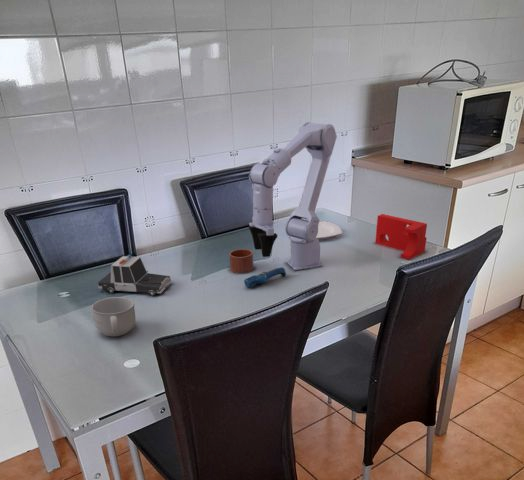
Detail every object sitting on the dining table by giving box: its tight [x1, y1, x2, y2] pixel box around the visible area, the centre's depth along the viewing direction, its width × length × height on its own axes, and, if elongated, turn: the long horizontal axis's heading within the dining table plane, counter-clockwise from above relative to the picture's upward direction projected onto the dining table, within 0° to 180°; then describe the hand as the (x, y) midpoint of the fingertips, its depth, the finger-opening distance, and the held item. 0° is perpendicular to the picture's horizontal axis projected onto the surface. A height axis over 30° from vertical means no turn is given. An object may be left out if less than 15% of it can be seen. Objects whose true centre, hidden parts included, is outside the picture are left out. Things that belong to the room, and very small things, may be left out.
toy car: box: [97, 254, 173, 297], centre depth 155 cm, size 10×21×10 cm, turn 78°
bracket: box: [374, 213, 428, 260], centre depth 176 cm, size 18×10×10 cm
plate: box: [316, 220, 343, 241], centre depth 195 cm, size 19×19×2 cm
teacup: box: [90, 296, 136, 337], centre depth 131 cm, size 14×11×8 cm
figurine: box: [243, 266, 287, 289], centre depth 157 cm, size 5×4×15 cm
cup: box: [228, 248, 255, 274], centre depth 167 cm, size 8×8×6 cm
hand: (262, 252), depth 153 cm, fingers open, 7 cm apart
